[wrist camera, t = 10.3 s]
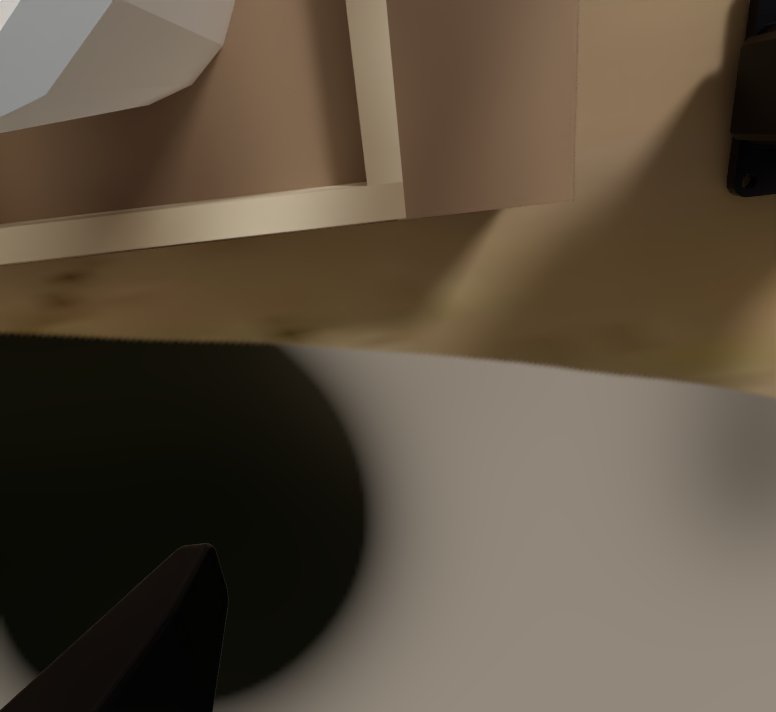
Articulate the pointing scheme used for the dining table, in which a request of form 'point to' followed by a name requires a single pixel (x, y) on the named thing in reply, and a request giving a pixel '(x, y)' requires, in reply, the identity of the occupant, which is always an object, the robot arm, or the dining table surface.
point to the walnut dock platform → (312, 130)
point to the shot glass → (101, 55)
